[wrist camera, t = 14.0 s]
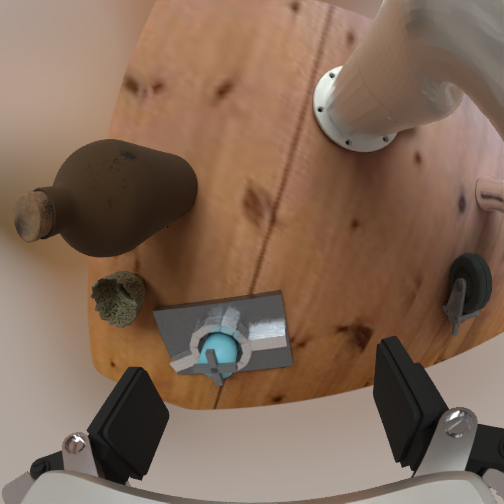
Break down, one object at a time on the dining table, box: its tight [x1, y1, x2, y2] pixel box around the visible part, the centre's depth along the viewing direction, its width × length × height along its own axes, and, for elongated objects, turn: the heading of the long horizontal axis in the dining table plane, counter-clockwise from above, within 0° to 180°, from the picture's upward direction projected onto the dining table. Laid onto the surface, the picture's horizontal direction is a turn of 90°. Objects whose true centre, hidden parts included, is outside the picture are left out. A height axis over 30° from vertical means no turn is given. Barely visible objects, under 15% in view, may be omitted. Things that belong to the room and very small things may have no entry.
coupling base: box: [152, 290, 293, 375], centre depth 40 cm, size 20×13×4 cm, turn 101°
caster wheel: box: [443, 254, 492, 335], centre depth 32 cm, size 6×10×15 cm
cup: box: [91, 271, 146, 328], centre depth 37 cm, size 8×7×8 cm
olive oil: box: [14, 139, 197, 257], centre depth 24 cm, size 11×11×25 cm
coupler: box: [192, 332, 239, 386], centre depth 37 cm, size 5×5×7 cm
